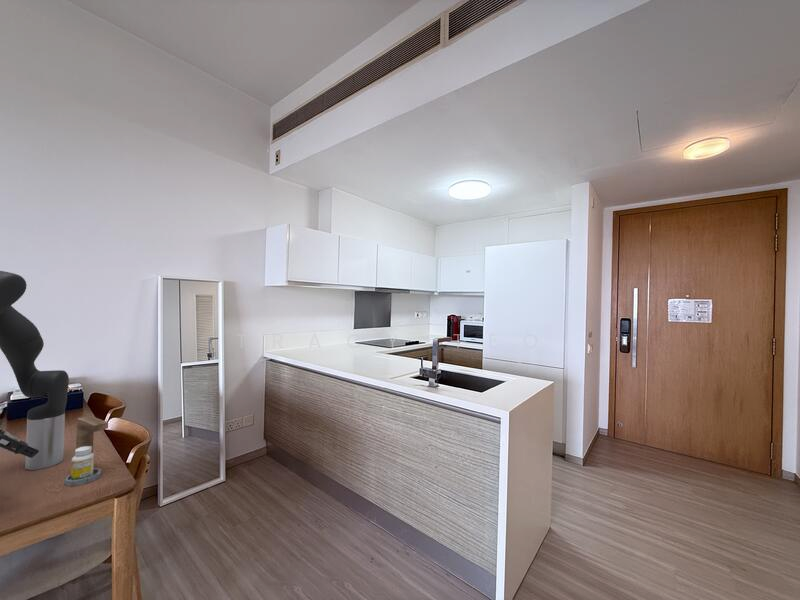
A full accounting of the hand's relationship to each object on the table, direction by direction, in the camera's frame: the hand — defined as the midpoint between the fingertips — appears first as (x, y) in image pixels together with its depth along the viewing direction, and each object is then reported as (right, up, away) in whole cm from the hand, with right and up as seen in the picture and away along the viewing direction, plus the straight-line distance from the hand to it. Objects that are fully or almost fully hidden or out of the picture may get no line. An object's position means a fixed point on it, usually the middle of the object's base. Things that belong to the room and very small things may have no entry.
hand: (29, 450), depth 97 cm
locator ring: (+6, -14, +10) cm, 19 cm away
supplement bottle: (+5, -14, +10) cm, 18 cm away
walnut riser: (+5, -14, +14) cm, 21 cm away
